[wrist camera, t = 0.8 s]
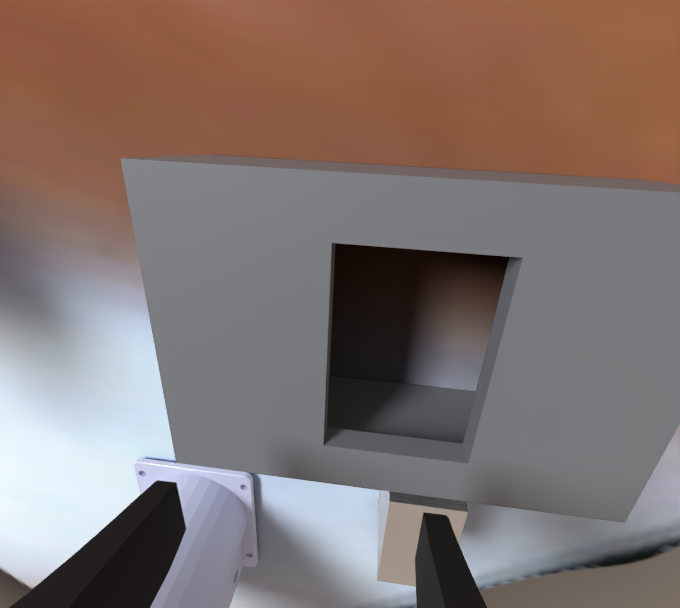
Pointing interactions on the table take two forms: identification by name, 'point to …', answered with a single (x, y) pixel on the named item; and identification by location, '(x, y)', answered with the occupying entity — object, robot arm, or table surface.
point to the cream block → (408, 531)
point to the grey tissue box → (404, 399)
